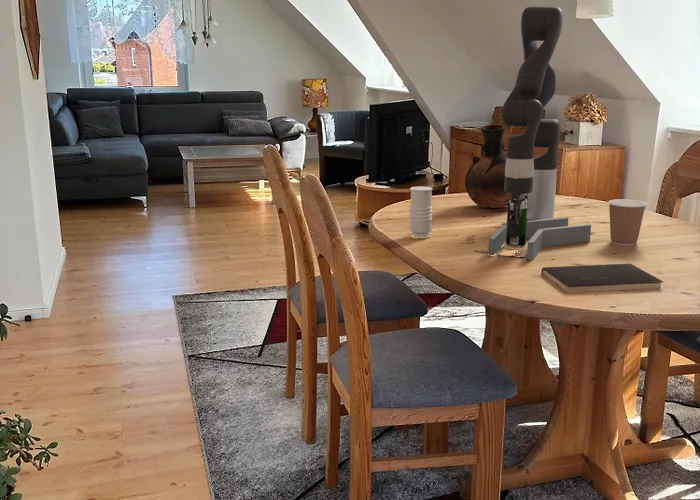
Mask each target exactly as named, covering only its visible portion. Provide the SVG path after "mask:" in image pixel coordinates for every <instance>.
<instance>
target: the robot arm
mask: <svg viewBox="0 0 700 500" xmlns="http://www.w3.org/2000/svg"><path fill="white" fill-rule="evenodd" d="M563 18H564V17H563V11H562V9H561V8H560V7H559V6H557V7H556V6H528V7H525V9H524V10H523V11H522V13H521V19H520V32H521V41H522V49H523V50H522V51H523V59H524V62H522V64H521V65H520V67H519V69H518V70H519V71H518V73H517V77H516V81H515V85H514V87H513V89H512V90H511V92H510V94H509V95H508V97H507V98H506V100H505V102H504V104H503V106H502V108H501V114H500V115H501V120H502V122H503V123H504V124H505V125H506V126H508V127H525V128H524V129H525V131H524V132H523V133H519V134H516V135H511V136H509V137H508V138H507V144H506V145H507V146H506V154H507V160H506V165H505V185H504V190H505V192H507V193H511V195H512V196H511V199H509V202H508V204H507V206H506V207H507V208H506V209H507V210H506V211H507V212H506V223H509V224H510V232H509V237H510V238H517V237H518V224H519V218H520V217H521V216H522V207H523V206H524V203H525V204H526V203H527V207H528V210H527V221H532V220H541V219H551V218H554V216H555V204H556V187H557V172H558V169H557V167H558V154H559V144H560V137H561V136H560V134H561V123H560V121H559V120H558V119H556V118H543V114H544V108H545V107H546V105H547V104H548V103H550V102H551V100H552V98H553V97H554V95H555V93H556V86H557V85H556V82H557V81H556V80H557V78H556V76H557V75H556V70H555V68H554V66H553V65H552V63H551V62H550V61H551V59H552V57H553V54H554V52H555V49H556V46H557V45H558V42H559V39H560V37H561V36H560V35H561V33H562V30H563V29H562V28H563V21H564V19H563ZM538 41H541V42H542V43H541V44H540V46H539V45H538V43H537V42H538ZM535 148H545V149H546V148H548V149H547V151H546V152H544V153H543V154H540V155H537V156H535V155H534V154H535ZM519 209H520V211H519V213H517V210H519ZM512 216H514V217H515V219H512Z"/></svg>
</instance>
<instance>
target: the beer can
mask: <svg viewBox="0 0 700 500" xmlns="http://www.w3.org/2000/svg"><path fill="white" fill-rule="evenodd" d="M527 210H528V207H527V203H526V204H525V203H524V206H523V207H522V216H521V217H520V218H519V224H518V237H517V238H510V237H509V232H510V224H509V223H507V222H506V223H507V227H506V244H505V245H506V247H508V248H511V249H521V248H524V247H525V246H526V245H527V244H526V243H527V238H526V228H527V221H528V219H527ZM519 211H520V209H519V210H517V213H519ZM512 219H515V217H514V216H512Z"/></svg>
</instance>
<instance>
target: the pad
mask: <svg viewBox="0 0 700 500" xmlns="http://www.w3.org/2000/svg"><path fill="white" fill-rule="evenodd" d="M518 250H519V251H518V253H517V252H516V253H515V254H514V253H513V254H514V255H515V256H520V257H525V256H526V257H527V249H518ZM519 252H520V253H519ZM512 256H513V255H512ZM526 257H525V258H526Z"/></svg>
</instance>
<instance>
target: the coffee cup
mask: <svg viewBox="0 0 700 500" xmlns="http://www.w3.org/2000/svg"><path fill="white" fill-rule="evenodd" d="M608 204H609V206H608V209H609V231H610V232H609V233H610V241H611V243H612V244H614V245H617V246H623V247H625V246H627V247H629V246H634V245H636V244H637V242H638V240H639V236H640V232H641V227H642V222H643V218H644V213H645V209H646V207H645V206H647V202H645V201H643V200H642V201H641V200H638V199H628V198H627V199H626V198H623V199H622V198H619V199H618V198H617V199H611V200H608Z"/></svg>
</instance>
